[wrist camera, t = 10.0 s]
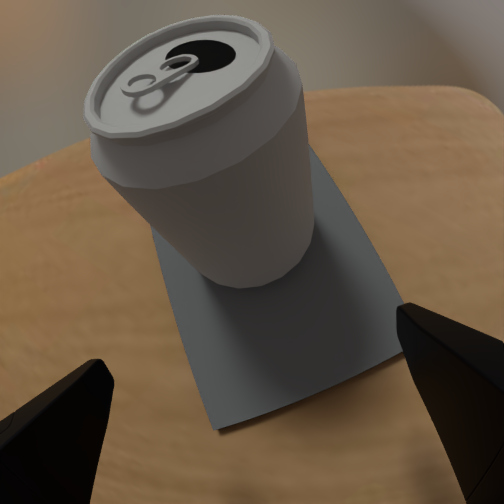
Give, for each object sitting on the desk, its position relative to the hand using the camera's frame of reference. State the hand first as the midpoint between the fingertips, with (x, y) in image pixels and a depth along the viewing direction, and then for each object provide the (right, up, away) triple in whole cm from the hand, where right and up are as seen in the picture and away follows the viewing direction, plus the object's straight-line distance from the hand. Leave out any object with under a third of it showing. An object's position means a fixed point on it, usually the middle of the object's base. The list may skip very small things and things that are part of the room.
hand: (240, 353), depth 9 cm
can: (0, +4, +10) cm, 11 cm away
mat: (+1, +2, +10) cm, 11 cm away
